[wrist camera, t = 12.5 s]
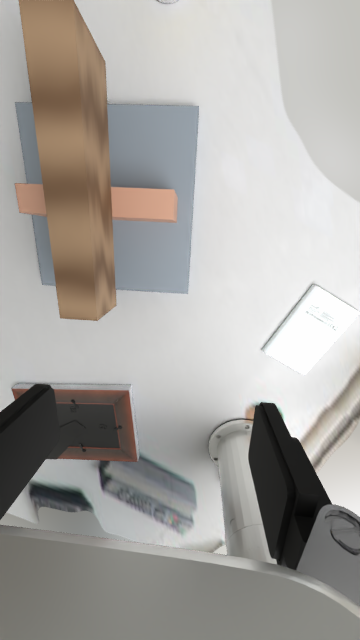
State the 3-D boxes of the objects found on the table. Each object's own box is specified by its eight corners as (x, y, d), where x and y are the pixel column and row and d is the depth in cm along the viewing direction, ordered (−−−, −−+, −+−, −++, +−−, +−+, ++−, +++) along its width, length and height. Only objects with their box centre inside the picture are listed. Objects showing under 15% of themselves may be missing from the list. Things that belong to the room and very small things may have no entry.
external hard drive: (260, 348, 38) (311, 283, 34) (301, 371, 39) (355, 310, 35) (263, 352, 36) (316, 285, 32) (305, 376, 37) (362, 313, 33)
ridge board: (188, 291, 35) (186, 302, 29) (48, 283, 36) (17, 291, 30) (198, 112, 28) (199, 76, 22) (23, 108, 29) (-23, 73, 23)
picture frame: (40, 448, 49) (140, 451, 47) (32, 458, 47) (137, 463, 45) (20, 381, 44) (132, 382, 42) (10, 389, 41) (128, 391, 40)
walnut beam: (116, 305, 30) (97, 320, 24) (86, 303, 30) (60, 318, 24) (105, 62, 22) (73, -1, 16) (64, 61, 22) (18, -1, 16)
